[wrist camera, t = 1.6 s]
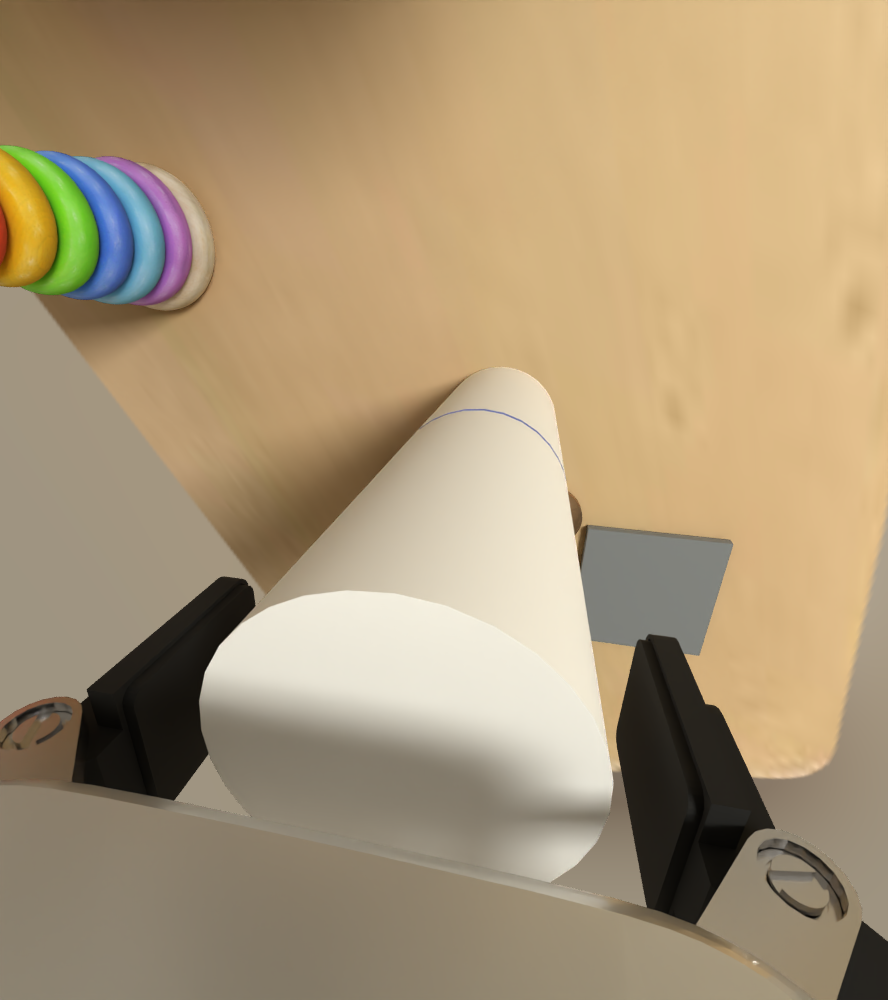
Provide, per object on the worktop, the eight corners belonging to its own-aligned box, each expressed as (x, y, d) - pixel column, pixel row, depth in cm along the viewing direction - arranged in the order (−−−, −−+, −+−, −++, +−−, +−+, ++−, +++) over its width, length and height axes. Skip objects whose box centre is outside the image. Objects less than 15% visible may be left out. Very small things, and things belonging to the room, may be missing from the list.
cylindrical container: (524, 344, 29) (475, 514, 6) (574, 446, 30) (684, 874, 8) (424, 401, 31) (121, 673, 8) (477, 492, 33) (344, 920, 10)
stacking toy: (121, 306, 32) (-339, 313, 15) (94, 165, 29) (-526, -22, 12) (228, 313, 31) (-141, 330, 14) (211, 168, 28) (-289, -34, 11)
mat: (587, 525, 32) (588, 528, 32) (729, 539, 31) (733, 544, 30) (569, 632, 36) (569, 637, 35) (696, 650, 35) (699, 655, 34)
